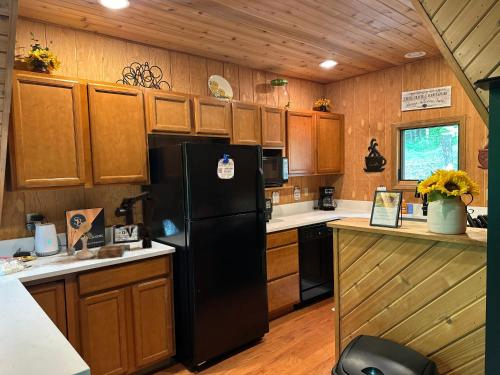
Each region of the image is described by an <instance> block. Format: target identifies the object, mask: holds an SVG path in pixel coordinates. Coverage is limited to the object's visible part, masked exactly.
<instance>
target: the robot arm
mask: <svg viewBox="0 0 500 375" xmlns="http://www.w3.org/2000/svg"><path fill="white" fill-rule="evenodd" d="M141 200H145V201H147V202H146V203H147V211H146V214H145V215H146V216H145V219H144V221H138V222H137V223H135V218H134V209H136V206H135V204H136V203H137V202H139V201H141ZM159 203H160V198H159V196H157V195H155V194H154V193H152V192H150V191H143V192H141V193H139V194H136V195H133V196H125V197H123V198H122V200H121V203H120V205H119V206H117V207H116V209H115V210H114V216H115V217H116V218H122V217H124V218H123V223H124V224H123V223H121V222H120V223H116V224H114V229H116V230H118V229H121V228H122V227H123V229H124V230H125V231H126V232H127V235H128V237H129V238H132V235H133V232H134V230H135V229H136V227H139V230H138V236H139V239H140V240H142V241H141V248H142V249H152V248H153V244H152V243H153V242H152V240H154V238H155V235H154V234H152V227H151V226H152V221H153V218H154V214H155V209H156V208H157V207H158V205H159Z"/></svg>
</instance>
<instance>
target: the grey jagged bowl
mask: <svg viewBox="0 0 500 375" xmlns="http://www.w3.org/2000/svg"><path fill="white" fill-rule="evenodd" d="M121 245H122V247H121V248H120V249H121V257H123V256H124V255H125V253H126V251H125V245H126V244H125V243H123V244H121Z"/></svg>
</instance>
